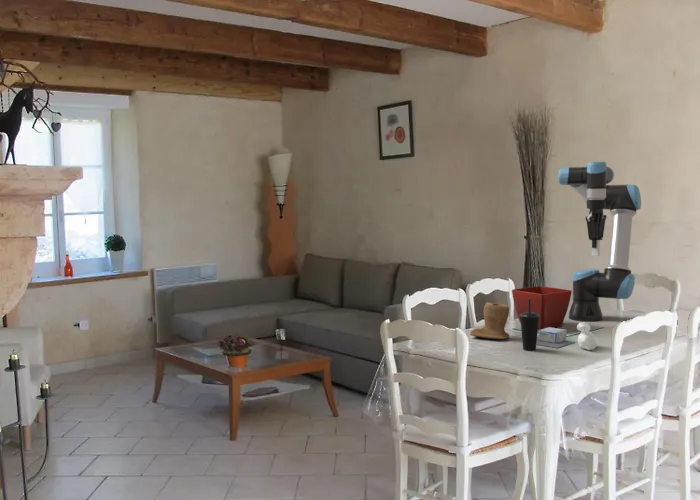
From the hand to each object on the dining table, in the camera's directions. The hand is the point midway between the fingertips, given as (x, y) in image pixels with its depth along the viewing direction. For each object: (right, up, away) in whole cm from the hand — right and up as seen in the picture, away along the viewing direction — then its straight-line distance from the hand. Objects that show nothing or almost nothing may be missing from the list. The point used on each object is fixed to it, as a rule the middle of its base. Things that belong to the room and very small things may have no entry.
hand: (595, 255), depth 288 cm
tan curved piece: (-43, -35, +3) cm, 55 cm away
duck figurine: (-10, -36, -18) cm, 42 cm away
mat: (-22, -35, -8) cm, 42 cm away
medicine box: (-16, -32, -3) cm, 36 cm away
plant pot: (-16, -33, +23) cm, 43 cm away
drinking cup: (-33, -37, -18) cm, 52 cm away
